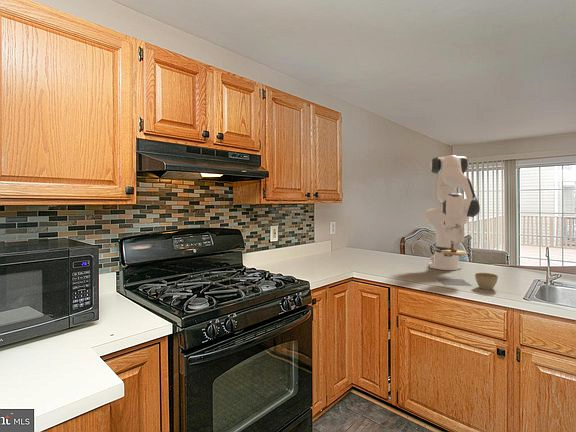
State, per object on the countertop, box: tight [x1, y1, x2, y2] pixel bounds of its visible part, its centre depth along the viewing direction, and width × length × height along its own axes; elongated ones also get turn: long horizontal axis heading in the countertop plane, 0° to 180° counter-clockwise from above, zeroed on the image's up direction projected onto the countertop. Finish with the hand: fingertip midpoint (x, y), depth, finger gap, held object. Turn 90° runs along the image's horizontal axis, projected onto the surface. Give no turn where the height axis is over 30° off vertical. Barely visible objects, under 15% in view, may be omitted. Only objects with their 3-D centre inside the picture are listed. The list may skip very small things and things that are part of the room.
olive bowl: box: [474, 272, 499, 291], centre depth 171 cm, size 10×10×7 cm
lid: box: [441, 244, 468, 257], centre depth 183 cm, size 13×13×5 cm
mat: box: [436, 278, 473, 287], centre depth 184 cm, size 14×14×1 cm
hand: (453, 249), depth 183 cm, fingers closed on lid, 3 cm apart
